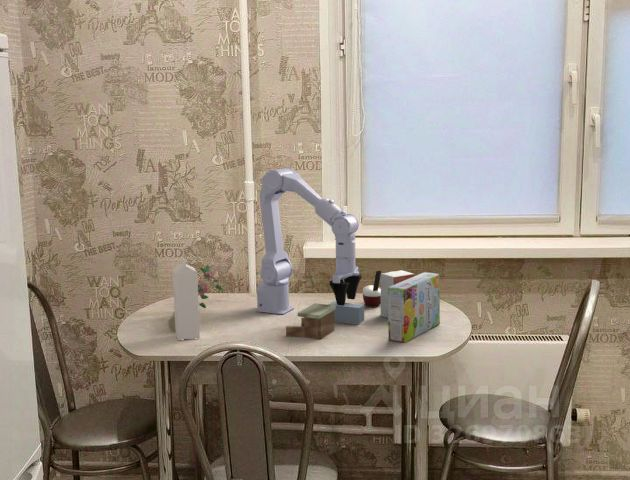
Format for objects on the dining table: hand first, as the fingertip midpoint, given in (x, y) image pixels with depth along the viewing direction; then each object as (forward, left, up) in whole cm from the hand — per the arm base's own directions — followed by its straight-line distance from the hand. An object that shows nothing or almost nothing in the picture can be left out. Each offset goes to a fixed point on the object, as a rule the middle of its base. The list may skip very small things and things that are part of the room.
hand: (346, 302), depth 232 cm
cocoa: (+1, +19, -6) cm, 20 cm away
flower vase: (-46, -13, -6) cm, 48 cm away
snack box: (+22, -3, -6) cm, 23 cm away
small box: (+12, +11, -6) cm, 17 cm away
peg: (0, 0, -6) cm, 6 cm away
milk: (-34, -32, -6) cm, 47 cm away
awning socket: (-4, -15, -6) cm, 17 cm away
